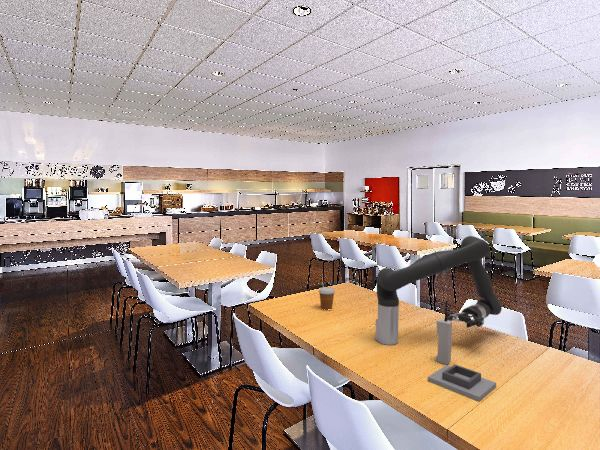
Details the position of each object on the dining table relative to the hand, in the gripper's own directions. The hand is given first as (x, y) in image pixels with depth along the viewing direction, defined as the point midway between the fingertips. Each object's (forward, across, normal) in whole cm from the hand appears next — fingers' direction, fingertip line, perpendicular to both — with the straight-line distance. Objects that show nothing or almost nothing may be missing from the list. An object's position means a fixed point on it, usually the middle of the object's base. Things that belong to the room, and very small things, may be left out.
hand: (457, 322), depth 155 cm
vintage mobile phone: (+11, 0, +14) cm, 18 cm away
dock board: (+23, +13, +13) cm, 30 cm away
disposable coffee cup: (-4, -79, +13) cm, 80 cm away
